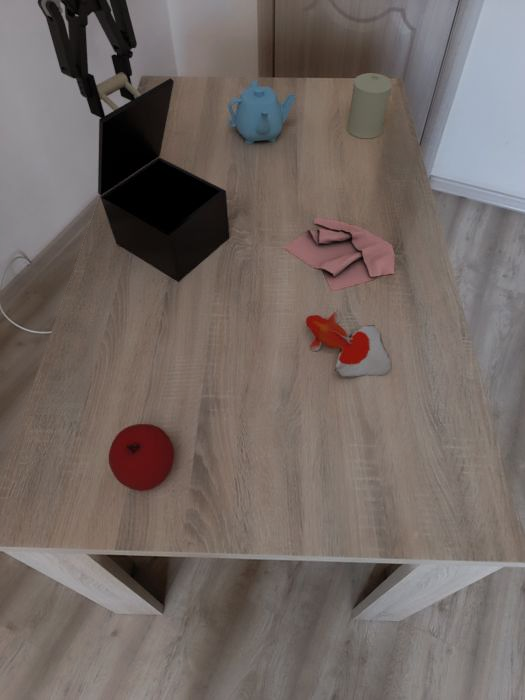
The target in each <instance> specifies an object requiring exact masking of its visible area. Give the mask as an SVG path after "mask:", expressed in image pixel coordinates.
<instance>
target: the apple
mask: <svg viewBox="0 0 525 700" xmlns="http://www.w3.org/2000/svg"><path fill="white" fill-rule="evenodd" d="M174 460H175V448H174V444H173V443H172V440H171V438H170V436H169V435H168V434H167V433H166V432H165V431H164V430H163V429H162V428H161V427H159V426H156V425H153V424H149V423H138V424H133V425H129V426H126V427H125V428H123V429H122V430H120V431H119V432H118V434H116V435H115V438H113V441H112V442H111V444H110V448H109V453H108V464H109V467H110V468H109V469H110V471H111V472H112V474H113V475H114V476H113V477H115V479H116V480H117V482H119V483H120V484H121V485H122V486H124V487H127V489H128V488H129V489H130V490H134V491H138V492H145V491H149V490H153V489H155V488H157V487H158V486H160V485H161V484H162V483H163V482H164V481H165V480H166V479H167V478H168V476H169V474H170V472H171V470H172V467H173V465H174Z"/></svg>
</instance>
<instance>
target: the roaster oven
mask: <svg viewBox="0 0 525 700" xmlns="http://www.w3.org/2000/svg"><path fill="white" fill-rule="evenodd" d="M100 201H101V202H102V206H103V209H104V211H105V215H106V218H107V220H108V221H107V222H108V223H109V226H110V229H111V232H112V235H113V239H114V241H115V244H116V245H117V246H119V247H121V248H123V249H124V250H125V251H127V252H129V253H130V254H132V255H134V256H135V257H137V258H139V259H140V260H142V261H143V262H145V263H147V264H148V265H150V266H151V267H153V268H155V269H157V270H158V271H160V272H161V273H163V274H165V275H166V276H168V277H169V278H170V279H172V280H174V281H176V282H178V283H180V282H181V281H182V280H183V279H184V278H185V277H186V276H187V275H189V274H190V273H191V272H192V271H194V269H196V268H197V267H198V266H199V265H200V264H201V263H202V262H204V261H205V260H206V259H207V258H208V257H210V256H211V255H212V254H213V253H214V252H215V251H217V249H219V248H220V247H221V246H222V245H223V244H225V243H226V242H228V240H229V239H230V225H229V214H228V212H229V211H228V201H227V190H225V189H224V188H221V187H220V186H218V185H216V184H214V183H211V182H210V181H207V180H205V179H203V178H201V177H200V176H198V175H196V174H194V173H191V172H189V171H187V170H186V169H183V168H182V167H180V166H178V165H176V164H175V163H174V164H173V163H172V162H170V161H168V160H166V159H164V158H162V157H160V156H159V157H158V158H156V159H155V160H153V161H152V162H150V163H149V164H147V165H146V166H144V167H143V168H141V169H140V170H138V171H137V172H136V173H134V174H133V175H131V176H130V177H128V178H127V179H125V180H124V181H122V182H121V183H119V184H118V185H116V186H115V187H113V188H112V189H110V190H109V191H107V192H106V193H104V194H103V195H100Z"/></svg>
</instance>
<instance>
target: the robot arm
mask: <svg viewBox="0 0 525 700" xmlns="http://www.w3.org/2000/svg"><path fill="white" fill-rule="evenodd" d="M108 1H109V2H108ZM61 3H62V4H63V6H64V16H63V8H62V7H61ZM37 5H38V7H39V9H40V10H41V12H42V14H43V15H44V17H45V18H46V23H47V26H48V30H49V34H50V38H51V41H52V44H53V48H54V52H55V56H56V59H57V62H58V66H59V69H60V73H62V74H63V75H65V76H68V77H69V78H71V79H75V80H76V83H77V87H78V89H79V93H80V95H81V96H82V97H83V98H85V99H86V102H87V105H88V108H89V112H90V113H91V114H92V115H94V116H96V117H98V118H99V119H101V118H102V117H104V116H106V114H105V110H104V106H103V103H102V99H101V100H100V96H99V93H98V89H97V86H96V85H97V83H96V79H95V75H94V74H91V73H89V61H88V59H89V58H88V41H87V26H88V25H89V20H88V19H89V16H90V15H91V14H92V13H93V14H94V16H95V17H96V19H97V21H98V23H99V25H100V26H101V29H102V31H103V33H104V34H105V36H106V38H107V40H108V42H109V45H110V46H111V48H112V50H113V52H114V53H116V54H112V55H110V58H111V62H112V65H113V69H114V73H115V74H114V75H116V74H118V73H120V72H123V73H124V74H125V75H126V77H127V79H128V82H129V83H130V84H131V85H132V86H133V84H132V79H131V77H132V76H133V69H132V65H131V61H130V60H131V59H132V58H133V56H134V53H133V51H132V49H136V48H137V46H138V43H137V39H136V34H135V30H134V26H133V24H132V19H131V15H130V11H129V7H128V3H127V0H37ZM64 17H65V18H64ZM65 20H66V22H67V26H66V22H65ZM67 27H68V29H67ZM118 91H119V93H120V97H122V98H123V99H126V100H128V101H129V102H130V101H132V100H133V99H135V98H136V97H135V96H134V95H133V94H132V93H131V92H130V91H129V90H128V89H127V88H126V87H125V86H124V87H123V88H121V89H119V90H118Z"/></svg>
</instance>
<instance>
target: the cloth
mask: <svg viewBox="0 0 525 700" xmlns="http://www.w3.org/2000/svg"><path fill="white" fill-rule="evenodd" d="M313 225H316V231H314V230H311V229H307V230H306V231H305V232H304V233H303V234H302V235H300V236H299V237H297V238H295V239H293V241H291V242H290V243H289V244H287V245H285V246H284V247H283V248H284V250H286V251H287V252H289V253H291V254H292V255H293V256H295V257H296V258H298V259H300V260H301V261H302V262H304V263H306V264H307V265H308V266H310V267H312V268H313V269H321V272H322V273H323V275H324V277H325V281H326V282H327V284H328V286H329V287H330V291H332V292H335V291H339V290H343V289H347V288H350V287H354V286H357V285H361V284H364V283H367V282H370V281H375V280H377V279H378V278H379V277H380V276H384V275H385V276H388V275H395V274H396V273H395V270H396V269H395V268H396V255H395V250H394V245H393V244H392V243H391V242H390V241H388V240H384V239H383V238H381V237H380V236H377V235H375V234H374V233H372V232H370V231H369V230H367V229H365V228H362V227H360V226H358V225H354V224H349V223H346V222H344V221H337V220H335V219H331V218H323V217H322V218H321V217H315V218H314V220H313Z"/></svg>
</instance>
